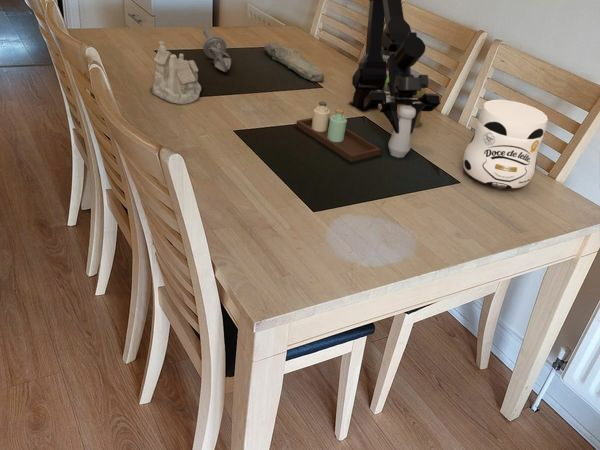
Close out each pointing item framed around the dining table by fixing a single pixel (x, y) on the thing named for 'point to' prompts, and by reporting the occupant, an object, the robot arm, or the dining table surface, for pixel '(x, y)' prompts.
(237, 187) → the dining table surface
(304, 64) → the long grey stone
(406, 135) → the salt shaker
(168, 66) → the ceramic cottage
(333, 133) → the sage bottle
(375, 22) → the robot arm
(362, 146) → the tray
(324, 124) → the cream bottle
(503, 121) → the doce de leite jar
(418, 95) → the olive pawn
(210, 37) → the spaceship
